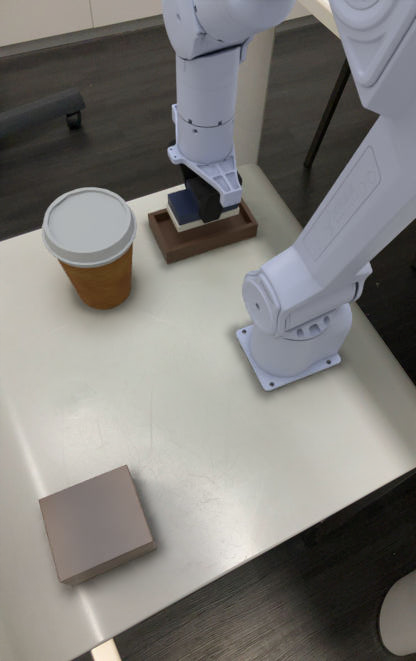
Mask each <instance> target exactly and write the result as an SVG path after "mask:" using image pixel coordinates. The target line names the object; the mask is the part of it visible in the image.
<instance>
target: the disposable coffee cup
mask: <svg viewBox="0 0 416 661" xmlns="http://www.w3.org/2000/svg"><path fill="white" fill-rule="evenodd" d="M137 231H138V222H137V217H136V215H135V213H134V211H133V209H132V208H131V207H130V206H129V204H127V202H126V201H125V199H124V198H122V197H121V196H120V195H119V194H117V193H116V192H113V191H111V190H109V189H106V188H100V187H95V186H93V187H92V186H91V187H90V186H89V187H86V186H85V187H80V188H76V189H74V190H70V191H67V192H65V193H62V195H60V196H58V197H57V198H55V199H54V201H53V202H51V203H50V205H49V206H48V207H47V209H46V211H45V213H44V217H43V221H42V225H41V237H42V242H43V244H44V246H45V248H46V249H47V251H48V252H49V253H50V254H51V255H52V256H53V257H54V258H56V260H57V261H58V263H59V265H60V266H61V269H62V270H63V271H64V273H65V274H66V277H67V278H68V280H69V281H70V283H71V285H72V286H73V288H74V289H75V292H76V293H77V295H78V297H79V298H80V300H81V301H82V303H84V304H85V305H86V306H88V307H89V308H92V309H95V310H110V309H113V308H116V307H118V306H120V305H122V304H123V303H124V302H125V301H126V300H127V299H128V298H129V296H130V294H131V291H132V278H133V277H132V276H133V275H132V274H133V252H134V251H133V250H134V240H135V239H136V235H137Z"/></svg>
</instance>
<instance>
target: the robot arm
mask: <svg viewBox="0 0 416 661" xmlns="http://www.w3.org/2000/svg"><path fill="white" fill-rule="evenodd" d="M327 1H328V4H329V7H330V11H331V13H332V17H333V19H334V20H333V21H334V23H335V26H336V30H337V32H338V35H339V38H340V41H341V45H342V47H343V51H344V53H345V57H346V60H347V63H348V66H349V69H350V73H351V76H352V79H353V82H354V84H355V87H356V90H357V93H358V98H359V100H360V103H361V105H362V107H363V108H364V109H366V110H369V111H372V112H373V113H376V114H378V115H379V116H378V118H377V119H376V121H375V122H374V124H373V125H372V127H371V128H370V129H369V131H368V133H367V134H366V136H365V137H364V139H363V140H362V141H361V143H360V145H359V146H358V148H357V149H356V150H355V152H354V153H353V155H352V157H351V158H350V159H349V161H348V163H346V165H345V167H344V168H343V170H342V171H341V173H340V174H339V176H338V177H337V179H336V180H335V182H334V183H333V185H332V186H331V188H330V189H329V190H328V192H327V193H326V195H325V196H324V198H323V200H322V201H321V202H320V204H319V205H318V207H317V208H316V210H315V211H314V212H313V214H312V216H311V217H310V219H309V221H308V222H307V223H306V225H305V226H304V228H303V229H302V231H301V232H300V234H299V235H298V236H297V239H296V240H295V241H294V243H293V244H292V245H291V246H289V247H288V248H286V249H284V250H283V251H281V252H280V253H278V254H277V255H275V256H273V257H272V258H270V259H269V260H267V261H266V262H264V263H263V264H262V265H261V266H260V267H259V268H258V270H257V269H254V270H250V271H247V272H246V274H245V275H244V277H243V281H242V284H241V285H242V286H241V294H242V299H243V302H244V306H245V310H246V311H247V314H248V315H249V317H250V319H251V321H252V322H253V324H251V325H247V326H245V327H242V328H239V329H237V330H236V331H235V336H236V339H237V341H238V343H239V345H240V346H241V349H242V350H243V352H244V354H245V356H246V359H247V361H248V362H249V365H250V366H251V368H252V370H253V372H254V374H255V377H256V378H257V379H258V381H259V384H260V385H261V387H262V389H263V390H264V391H265V392H271V391H274V390H276V389H279V388H281V387H284V386H286V385H288V384H291V383H294V382H296V381H298V380H301V379H304V378H306V377H309V376H311V375H314V374H316V373H320V372H322V371H324V370H327V369H330V368H333V367H335V366H336V365H339V364H340V363H341V362H342V358H341V356H340V354H339V351H340V350H341V347H342V346H343V344H344V342H345V341H346V338H347V337H348V335H349V333H350V331H351V329H352V327H353V313H352V308H351V305H350V304H351V303H355V302H356V301H357V300H359V299H360V297H361V296H362V293H363V289H364V285H365V281H366V280H367V278H368V277H369V276H370V275H371V274H372V273H373V268H372V266H371V263H370V262H371V261H372V260H373V259H374V258H375V257H376V256H377V255H378V254H379V253H380V252H381V251H382V250H383V249H384V248H385V247H387V246H388V245H389V244H390V243H391V242H392V241H393V240H394V239H395V238H397V236H398V235H399V234H400V233H401V232H402V231H403V230H405V229H406V228H407V227H408V226H409V225H410V224H411V223H412V222H413V221H414V220H415V219H416V0H327ZM296 2H297V0H161V11H162V19H163V23H164V27H165V31H166V34H167V37H168V40H169V42H170V45H171V46H172V48H173V50H174V52H175V80H176V82H175V83H176V84H175V85H176V103H173V104H172V105H171V120H172V122H173V123H174V126H175V139H173V140H171V141H170V142H169V143H168V148H167V149H166V150H167V156H168V158H169V160H170V162H171V163H172V164H174V165H178V167H179V171H180V173H181V177H182V180H183V185H184V187H185V188H184V189H186V180H188V179H190V180H188V183H189V185H190V187H191V189H192V191H193V193H194V194H195V196H196V197H197V201H198V206H199V213H200V217H201V219H202V221H203V223H208V222H211V221H215V220H218V219H219V218H220V216H221V213H222V211H223V209H224V207H227V206H231V205H234V204H237V203H240V202H241V197H242V196H243V187H242V186H243V177H242V176H241V174H240V172H239V171H238V169H237V158H236V150H235V144H234V130H235V117H236V106H237V96H238V83H239V74H240V73H239V72H240V65H243V63H245V61H246V60H247V52H248V51H247V50H248V48H249V45H250V43H251V42H252V41H253V40H254V38H255V36H256V35H258V34H261V33H263V32H265V31H267V30H270V29H273V28H274V27H277V26H279V25H280V24H281V23H283V22H284V21H285V20H286V19H287V18H288V17H289V15H290V14H291V12H292V11H293V9H294V7H295V5H296ZM199 176H200V177H199ZM195 177H197V178H195ZM191 178H193V179H191ZM244 332H245V333H244ZM328 362H329V363H328ZM271 384H272V385H271Z"/></svg>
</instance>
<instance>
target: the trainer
mask: <svg viewBox="0 0 416 661" xmlns="http://www.w3.org/2000/svg"><path fill="white" fill-rule="evenodd" d="M199 177H200V176H199ZM195 178H197V177H195ZM191 179H193V178H191ZM188 180H190V179H188ZM188 180H186V188H184V189H180V190H177V191H173V192H170V193H167V202H166V204H165V208H166V209H167V211H168V213H169V215H170V217H171V219H172V221H173V223H174V225H175V227H176V229H177V231H178V232H181V231H185V230H188V229H191V228H194V227H198V226H201V225H204V224H208V223H211V222H214V221H211V222H208V223H203V221H202V219H201V217H200V213H199V206H198V201H197V197H196V196H195V194H194V193H193V191H192V189H191V187H190V185H189V183H188ZM237 214H239V207H238V203H237V204H234V205H231V206H227V207H224V209H223V211H222V213H221V216H220V218H219V219H218V220H221V219H224V218H227V217H230V216H234V215H237ZM215 221H217V220H215Z"/></svg>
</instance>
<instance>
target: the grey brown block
mask: <svg viewBox="0 0 416 661" xmlns="http://www.w3.org/2000/svg"><path fill="white" fill-rule="evenodd" d="M38 504H39V508H40V512H41V516H42V520H43V523H44V527H45V531H46V532H45V533H46V535H47V539H48V543H49V547H50V552H51V554H52V559H53V562H54V563H53V564H54V566H55V570H56V574H57V578H58V582H59V584H63V585H67V586H70V587H74V586H77V585H79V584H81V583H83V582H86V581H87V580H90V579H92V578H95V577H97V576H99V575H101V574H104V573H106V572H108V571H110V570H112V569H115V568H118V567H119V566H122V565H124V564H126V563H128V562H131V561H133V560H135V559H138V558H140V557H142V556H145V555H146V554H148V553H150V552H153V551H155V550H157V545H156V542H155V539H154V536H153V533H152V529H151V527H150V524H149V521H148V519H147V516H146V513H145V511H144V508H143V504H142V501H141V498H140V496H139V493H138V490H137V488H136V485H135V482H134V479H133V476H132V474H131V471H130V469H129V466H128V464H124V465H121V466H119V467H116V468H114V469H111V470H109V471H106V472H104V473H101V474H99V475H97V476H94V477H92V478H89V479H87V480H84V481H82V482H79V483H76V484H74V485H72V486H69V487H65V488H64V489H62V490H59V491H56V492H54V493H51V494H49V495H47V496H44V497H42V498H40V499H38Z"/></svg>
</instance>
